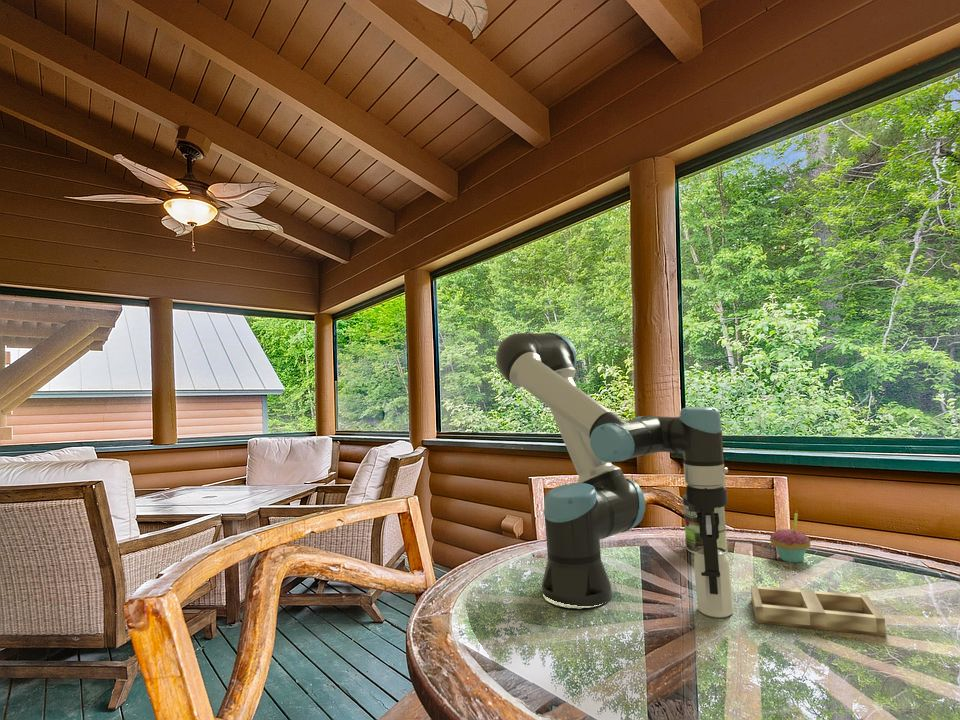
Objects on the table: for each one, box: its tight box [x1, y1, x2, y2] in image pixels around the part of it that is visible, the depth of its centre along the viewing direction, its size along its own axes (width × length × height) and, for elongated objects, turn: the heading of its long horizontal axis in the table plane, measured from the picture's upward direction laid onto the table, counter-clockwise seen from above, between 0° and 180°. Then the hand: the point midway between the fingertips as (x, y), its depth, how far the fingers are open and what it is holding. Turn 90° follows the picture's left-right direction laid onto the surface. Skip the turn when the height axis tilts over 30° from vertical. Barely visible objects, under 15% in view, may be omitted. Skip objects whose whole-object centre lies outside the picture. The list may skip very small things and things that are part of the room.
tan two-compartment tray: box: [749, 585, 887, 637], centre depth 99 cm, size 20×10×3 cm, turn 67°
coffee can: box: [681, 493, 729, 555], centre depth 139 cm, size 10×10×14 cm
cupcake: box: [769, 510, 811, 563], centre depth 128 cm, size 9×8×12 cm
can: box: [693, 546, 734, 619], centre depth 104 cm, size 6×6×12 cm
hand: (714, 601), depth 104 cm, fingers closed on can, 6 cm apart
